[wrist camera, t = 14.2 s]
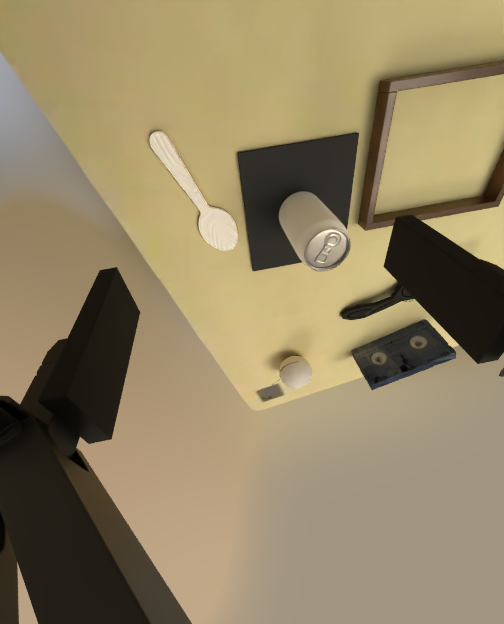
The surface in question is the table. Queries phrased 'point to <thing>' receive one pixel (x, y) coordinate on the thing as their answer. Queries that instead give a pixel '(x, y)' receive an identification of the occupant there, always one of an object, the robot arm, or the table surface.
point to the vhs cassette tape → (402, 354)
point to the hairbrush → (377, 305)
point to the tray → (497, 187)
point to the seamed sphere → (295, 372)
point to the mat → (293, 190)
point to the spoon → (197, 197)
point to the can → (314, 231)
